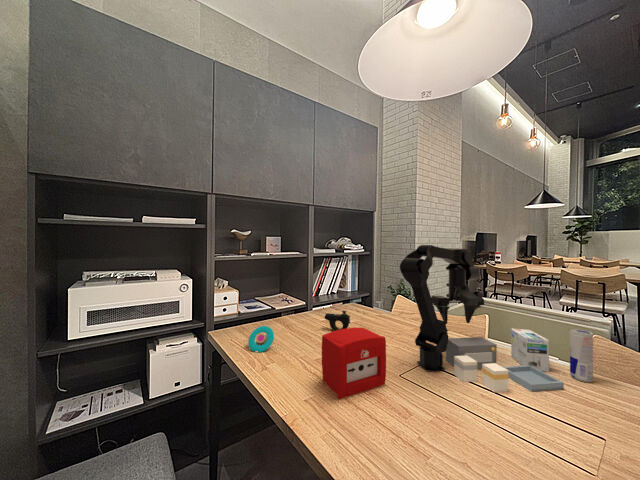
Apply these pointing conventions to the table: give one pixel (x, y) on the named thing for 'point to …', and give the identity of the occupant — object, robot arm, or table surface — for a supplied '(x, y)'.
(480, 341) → the block
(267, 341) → the ornament
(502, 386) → the cream taped block
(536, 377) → the tray
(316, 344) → the table surface
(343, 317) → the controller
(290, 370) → the table surface
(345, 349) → the fire alarm
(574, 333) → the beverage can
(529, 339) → the light bulb box
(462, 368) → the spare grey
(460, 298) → the robot arm
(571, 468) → the table surface
